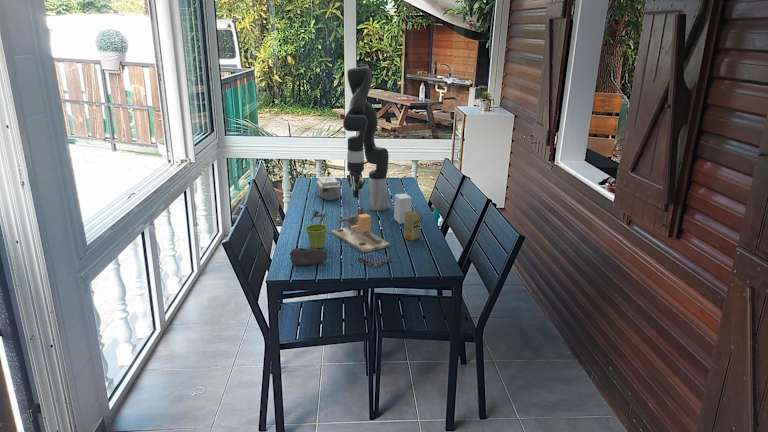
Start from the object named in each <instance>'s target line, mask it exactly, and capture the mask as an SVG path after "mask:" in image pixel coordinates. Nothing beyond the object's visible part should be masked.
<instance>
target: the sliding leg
mask: <svg viewBox="0 0 768 432" xmlns="http://www.w3.org/2000/svg"><path fill="white" fill-rule="evenodd" d="M357 215H358V214H357ZM371 221H372V216H371V215H369V214H367V213H362V215H358V225H355V226H351V227H350V229H351V235H353V229H355V228H358V230H359V231H361V232H367V231H369V232H371V230H372V228H371V227H372V224H371V223H372V222H371Z"/></svg>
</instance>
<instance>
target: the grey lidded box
mask: <svg viewBox="0 0 768 432" xmlns="http://www.w3.org/2000/svg"><path fill="white" fill-rule="evenodd" d="M315 183H316V188H317V190H316V191H317V193H318V196H319V197H321V198H322V199H323V200H324V201H325V200H327V201H336V200H337V198H340V196H341V184H340V183H339V181H338V180H337V179H336V178H335V177H334V176H332V175H331V176H318V178H317V180H316V182H315Z"/></svg>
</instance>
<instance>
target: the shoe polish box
mask: <svg viewBox="0 0 768 432" xmlns="http://www.w3.org/2000/svg"><path fill="white" fill-rule="evenodd" d="M420 220H421V213H420V212H418V211H414V210H411V211H409V212H406V213H404V223H403V225H404V226H403V227H404V228H403V238H404V239H407V240H409V241H414V240H417V239H419V238H420V226H421V224H420V222H421V221H420Z"/></svg>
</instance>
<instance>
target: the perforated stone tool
mask: <svg viewBox="0 0 768 432" xmlns="http://www.w3.org/2000/svg"><path fill="white" fill-rule="evenodd" d="M289 256H290V257H289V259H290V262H291V264H292V265H293V266H300V267H301V266H311V265H317V264H319V265H320V264H322V263H325V262H326V261H327V260H328V259H329V256H328V253H327V252H326V251H324V250H322V249H320V248H316V249H314V248H311V247H309V248H307V247H305V248H304V247H299V248H298V247H297V248H292V250H291V251H290V252H289Z"/></svg>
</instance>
